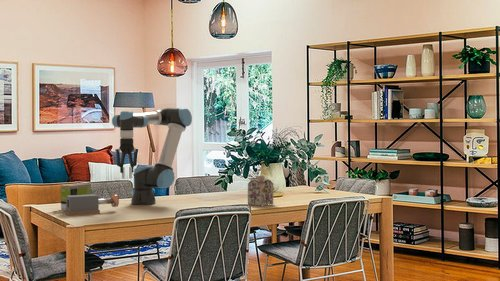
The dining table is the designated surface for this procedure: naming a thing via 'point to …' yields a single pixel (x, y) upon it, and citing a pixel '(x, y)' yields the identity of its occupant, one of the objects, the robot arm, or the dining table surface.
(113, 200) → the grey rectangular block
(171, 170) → the robot arm
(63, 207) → the tea box
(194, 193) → the dining table surface
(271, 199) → the decorative jar
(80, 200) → the block
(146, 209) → the dining table surface
